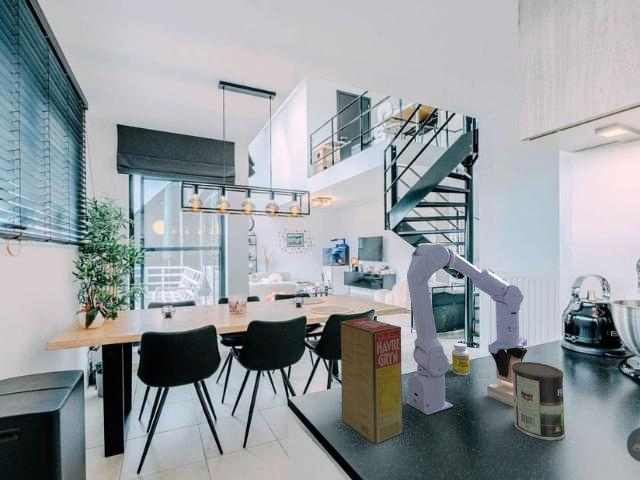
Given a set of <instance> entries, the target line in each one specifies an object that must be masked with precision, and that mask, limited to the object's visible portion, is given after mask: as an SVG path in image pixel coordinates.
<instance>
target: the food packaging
mask: <svg viewBox="0 0 640 480" xmlns="http://www.w3.org/2000/svg"><path fill="white" fill-rule="evenodd" d="M340 358H341V359H340V360H341V361H340V365H341V366H340V367H341V369H340V370H341V371H340V372H341V373H340V374H341V377H340V379H341V421H342V422H343V423H345V424H346V425H347V426H348V427H350V428H351V429H353V430H354V431H355V432H356V433H358V434H359V435H360V436H361V437H362V438H364V439H366V441H368V442H369V443H372V444H373V445H374V446H376V445H379V444H381V443H383V442H385V441H387V440H391V439H392V438H394V437H396V436H399V435H401V434H403V433H404V432H403V393H402V388H403V387H402V327H401V326H399V325H394V324H390V323H387V322H383V321H382V322H381V321H380V320H379V321H378V320H374V319H371V318H367V317H362V318H355V319H349V320H348V319H347V320H343V321H340Z"/></svg>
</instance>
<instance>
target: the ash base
mask: <svg viewBox="0 0 640 480" xmlns="http://www.w3.org/2000/svg"><path fill="white" fill-rule="evenodd" d="M486 387H487V397H489V398H491V399H494V400H497V401H499V402H500V403H501V402H502V403H503V404H506V405H508V406H510V407H513V408H514V394H513V383H512V384H511V383H509V382H506V381H503V380H500V381H497V382H496V381H495V382H494V383H493V382H492V383H491V384H488V385H487V386H486Z"/></svg>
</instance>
